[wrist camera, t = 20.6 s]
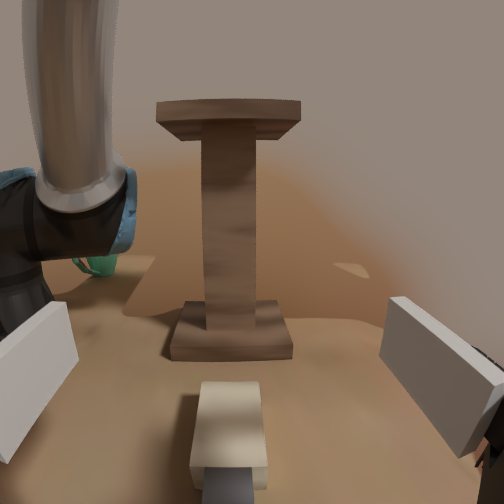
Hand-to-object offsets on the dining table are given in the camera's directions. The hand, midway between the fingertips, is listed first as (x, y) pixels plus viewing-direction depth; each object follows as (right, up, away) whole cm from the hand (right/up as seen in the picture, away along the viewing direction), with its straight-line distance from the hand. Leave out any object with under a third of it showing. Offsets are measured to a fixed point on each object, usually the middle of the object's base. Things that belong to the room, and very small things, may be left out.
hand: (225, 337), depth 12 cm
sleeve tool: (0, -14, +4) cm, 14 cm away
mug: (-34, -3, +54) cm, 63 cm away
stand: (-2, -8, +30) cm, 31 cm away
